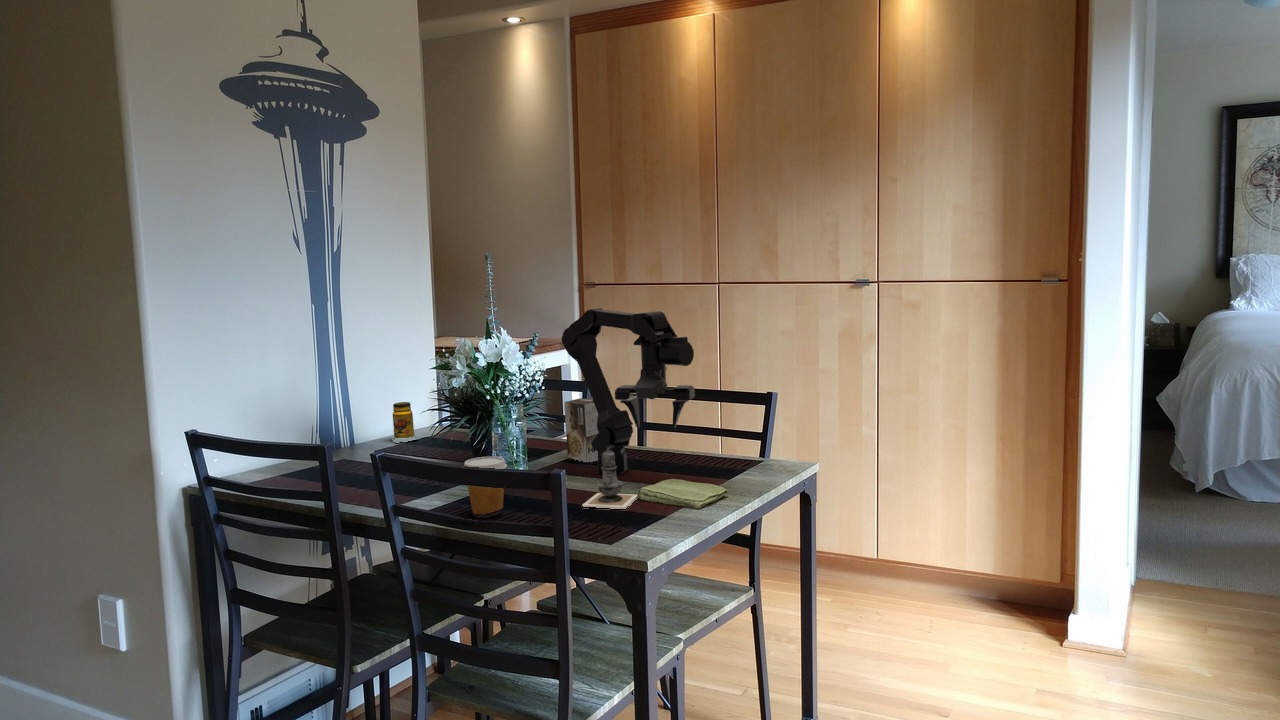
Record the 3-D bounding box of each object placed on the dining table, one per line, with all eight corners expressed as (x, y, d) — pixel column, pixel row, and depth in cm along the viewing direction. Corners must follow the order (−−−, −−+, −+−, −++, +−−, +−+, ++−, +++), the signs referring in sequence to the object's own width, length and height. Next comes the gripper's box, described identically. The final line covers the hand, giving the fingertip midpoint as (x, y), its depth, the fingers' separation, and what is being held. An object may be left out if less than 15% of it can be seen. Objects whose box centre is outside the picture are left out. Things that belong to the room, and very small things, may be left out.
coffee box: (605, 459, 246) (602, 400, 245) (587, 463, 242) (584, 404, 240) (584, 454, 253) (581, 397, 251) (566, 458, 249) (563, 400, 247)
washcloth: (700, 512, 195) (700, 498, 194) (634, 501, 205) (633, 487, 205) (731, 497, 205) (731, 483, 205) (667, 488, 216) (666, 474, 215)
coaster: (582, 508, 200) (582, 504, 200) (597, 495, 210) (597, 492, 210) (625, 510, 197) (625, 506, 197) (638, 497, 207) (638, 494, 207)
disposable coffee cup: (513, 507, 203) (510, 455, 202) (505, 520, 194) (502, 465, 192) (471, 509, 203) (467, 456, 202) (461, 522, 194) (457, 467, 192)
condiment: (395, 444, 278) (392, 405, 277) (390, 439, 286) (387, 402, 285) (419, 441, 282) (416, 403, 280) (413, 436, 289) (410, 399, 288)
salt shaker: (620, 503, 200) (618, 449, 199) (594, 502, 201) (592, 449, 200) (625, 495, 206) (623, 443, 204) (600, 495, 207) (598, 444, 206)
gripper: (605, 368, 214) (608, 433, 216) (682, 368, 208) (685, 435, 210) (620, 362, 224) (623, 424, 226) (694, 362, 219) (696, 425, 220)
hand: (656, 427), depth 220 cm, fingers open, 9 cm apart
